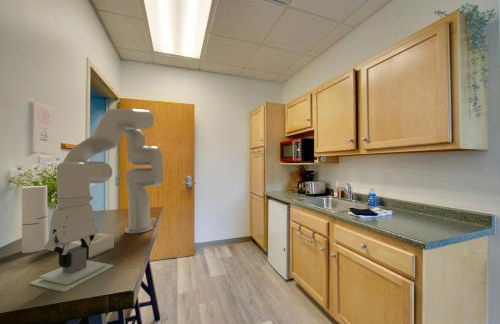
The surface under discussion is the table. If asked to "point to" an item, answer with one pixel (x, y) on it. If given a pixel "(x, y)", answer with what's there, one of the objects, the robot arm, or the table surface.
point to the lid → (74, 267)
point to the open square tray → (97, 244)
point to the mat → (67, 287)
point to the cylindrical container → (34, 218)
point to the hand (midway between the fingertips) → (74, 262)
